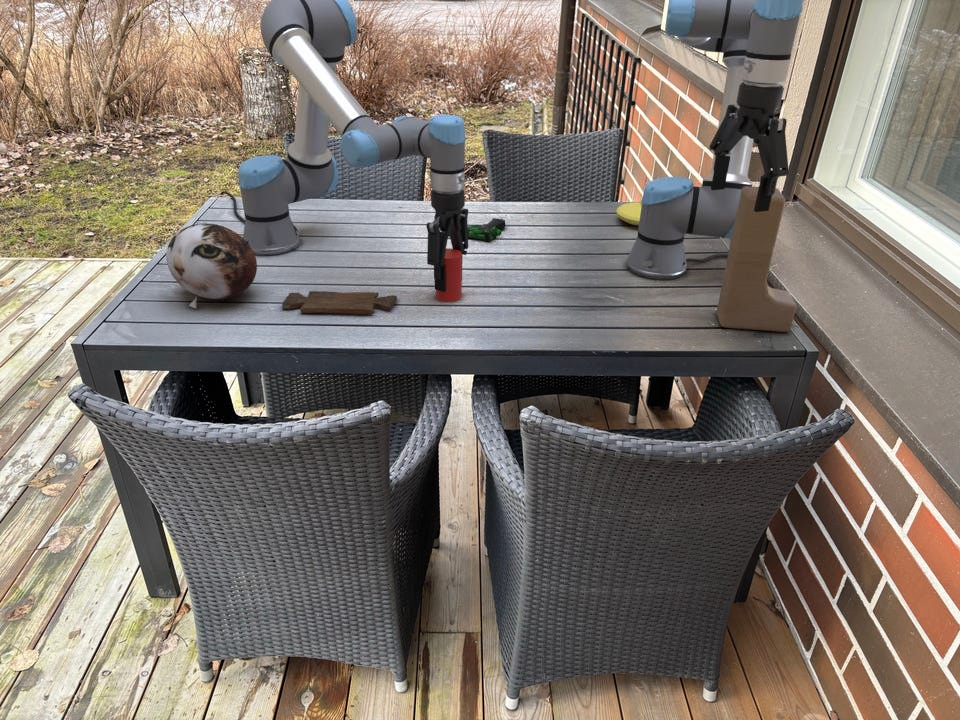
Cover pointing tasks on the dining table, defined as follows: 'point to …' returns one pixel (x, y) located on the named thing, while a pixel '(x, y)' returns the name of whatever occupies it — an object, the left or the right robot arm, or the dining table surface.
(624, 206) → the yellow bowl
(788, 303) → the decorative block
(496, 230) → the handgun
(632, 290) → the dining table surface
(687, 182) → the right robot arm
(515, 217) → the dining table surface
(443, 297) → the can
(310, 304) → the dark wooden board
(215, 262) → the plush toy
